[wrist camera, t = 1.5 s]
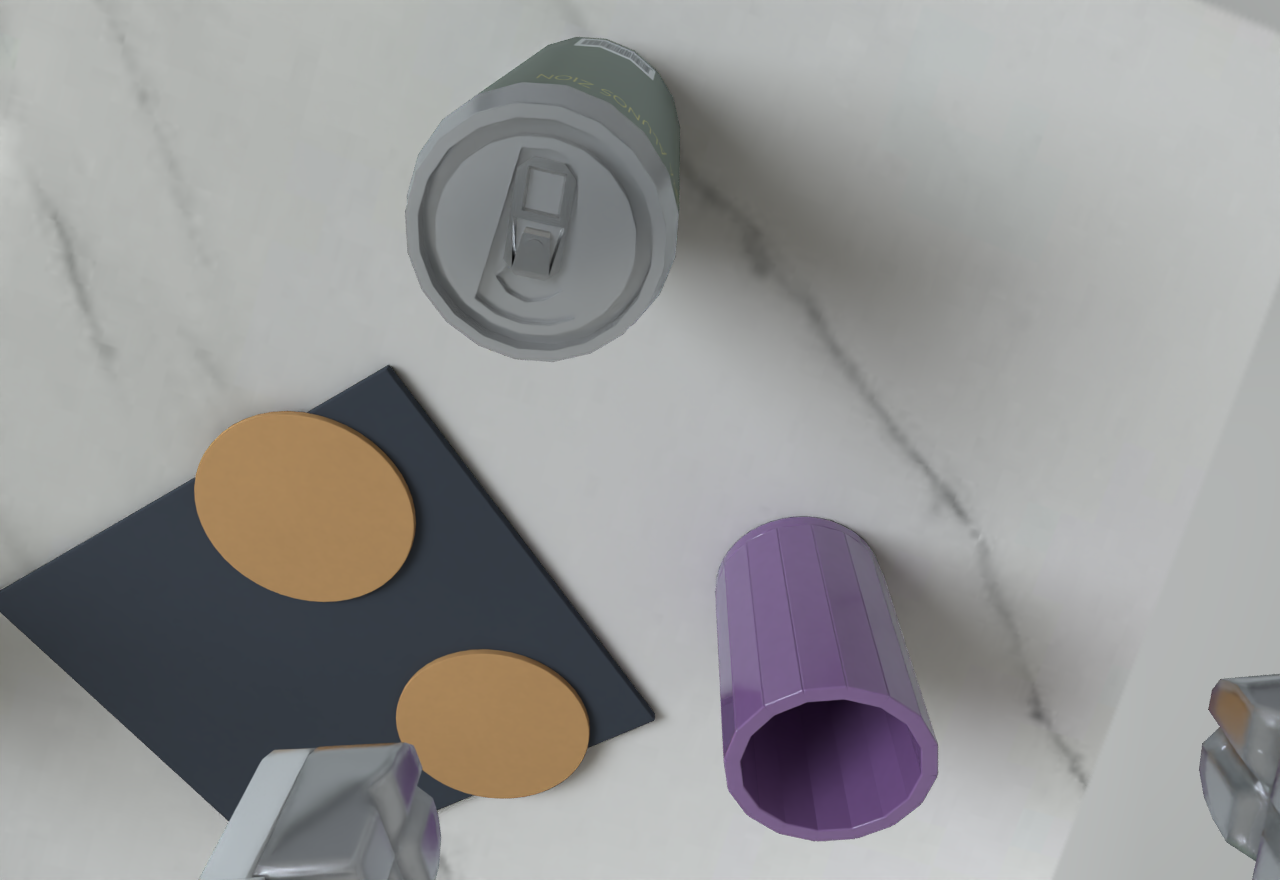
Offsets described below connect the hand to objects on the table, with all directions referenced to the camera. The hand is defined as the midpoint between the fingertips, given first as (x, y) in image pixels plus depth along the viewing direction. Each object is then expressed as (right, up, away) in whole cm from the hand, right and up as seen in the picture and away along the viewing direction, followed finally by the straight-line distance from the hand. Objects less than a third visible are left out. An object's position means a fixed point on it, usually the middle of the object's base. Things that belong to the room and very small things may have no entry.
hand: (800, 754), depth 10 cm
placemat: (-14, -5, +28) cm, 32 cm away
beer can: (-3, +13, +19) cm, 23 cm away
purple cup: (+4, -2, +26) cm, 26 cm away
